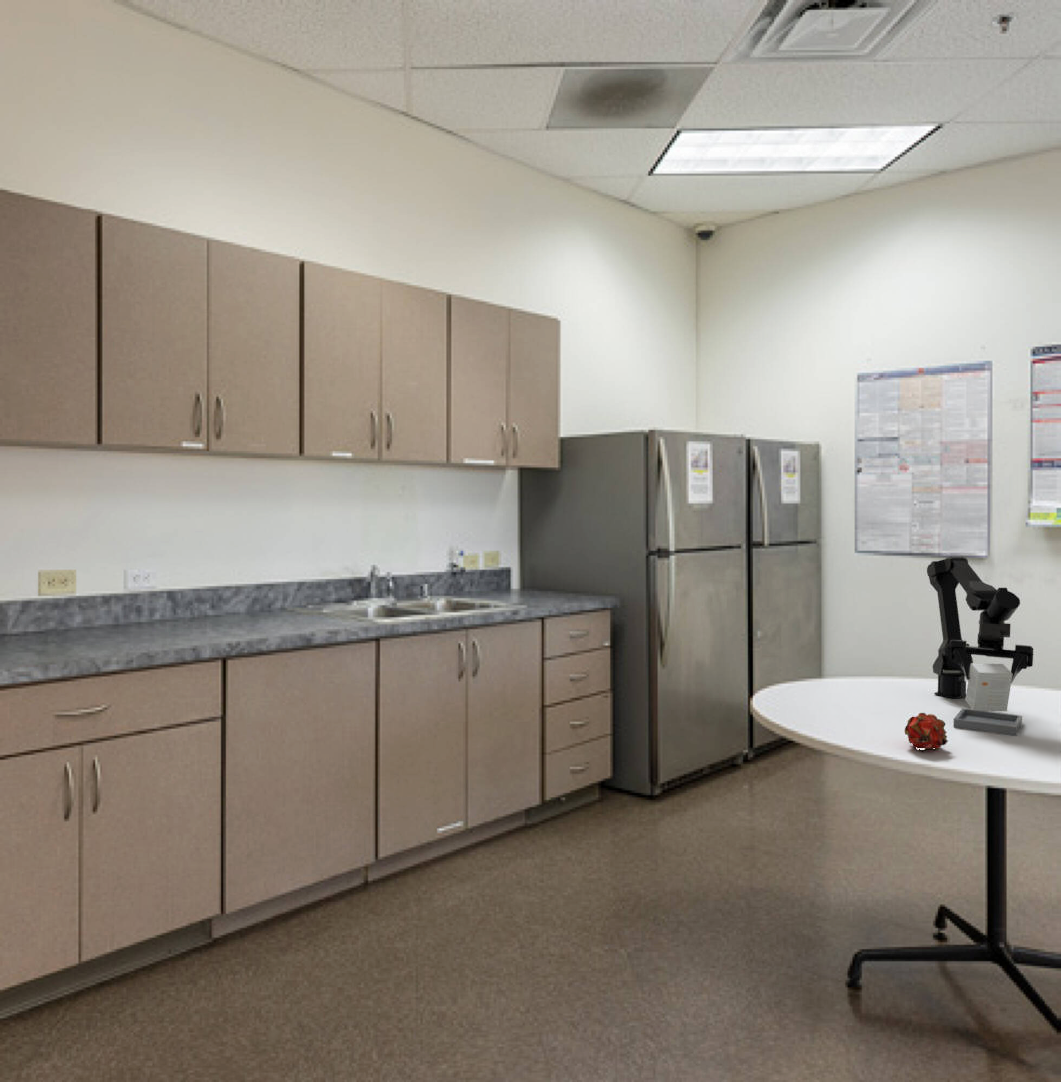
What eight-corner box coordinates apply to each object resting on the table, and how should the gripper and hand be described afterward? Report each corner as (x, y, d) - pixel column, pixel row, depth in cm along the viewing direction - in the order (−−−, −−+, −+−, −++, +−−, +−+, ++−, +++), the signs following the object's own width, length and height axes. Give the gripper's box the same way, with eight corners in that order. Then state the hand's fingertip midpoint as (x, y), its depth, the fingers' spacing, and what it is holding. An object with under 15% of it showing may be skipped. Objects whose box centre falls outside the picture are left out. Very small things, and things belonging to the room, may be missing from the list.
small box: (997, 701, 216) (1003, 663, 213) (1007, 712, 210) (1013, 673, 207) (964, 700, 216) (970, 662, 213) (973, 711, 211) (979, 672, 208)
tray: (953, 726, 211) (953, 718, 211) (962, 715, 222) (962, 708, 222) (1016, 735, 204) (1016, 727, 203) (1022, 723, 215) (1022, 715, 215)
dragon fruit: (930, 748, 198) (927, 769, 188) (898, 724, 201) (893, 744, 190) (955, 723, 195) (953, 743, 184) (922, 698, 197) (918, 717, 187)
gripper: (950, 608, 220) (945, 658, 211) (1034, 613, 210) (1033, 665, 202) (951, 634, 227) (947, 683, 218) (1033, 640, 218) (1032, 692, 209)
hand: (988, 680), depth 211 cm, fingers closed on small box, 9 cm apart
